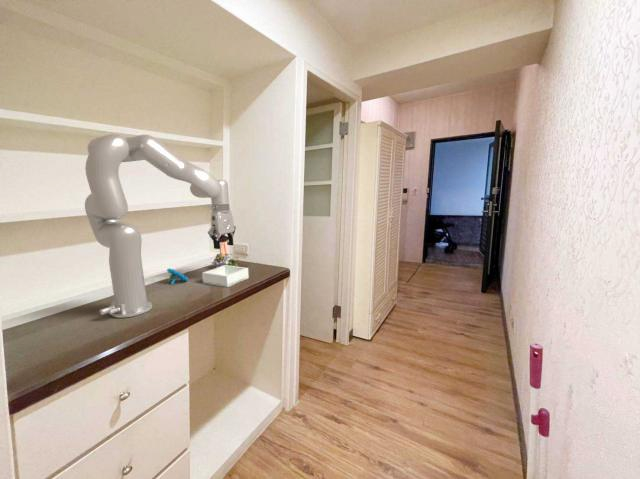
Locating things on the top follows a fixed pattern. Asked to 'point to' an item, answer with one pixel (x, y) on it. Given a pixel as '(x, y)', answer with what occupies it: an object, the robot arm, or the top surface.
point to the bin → (225, 275)
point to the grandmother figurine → (223, 245)
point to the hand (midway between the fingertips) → (223, 246)
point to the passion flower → (224, 260)
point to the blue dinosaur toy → (176, 275)
